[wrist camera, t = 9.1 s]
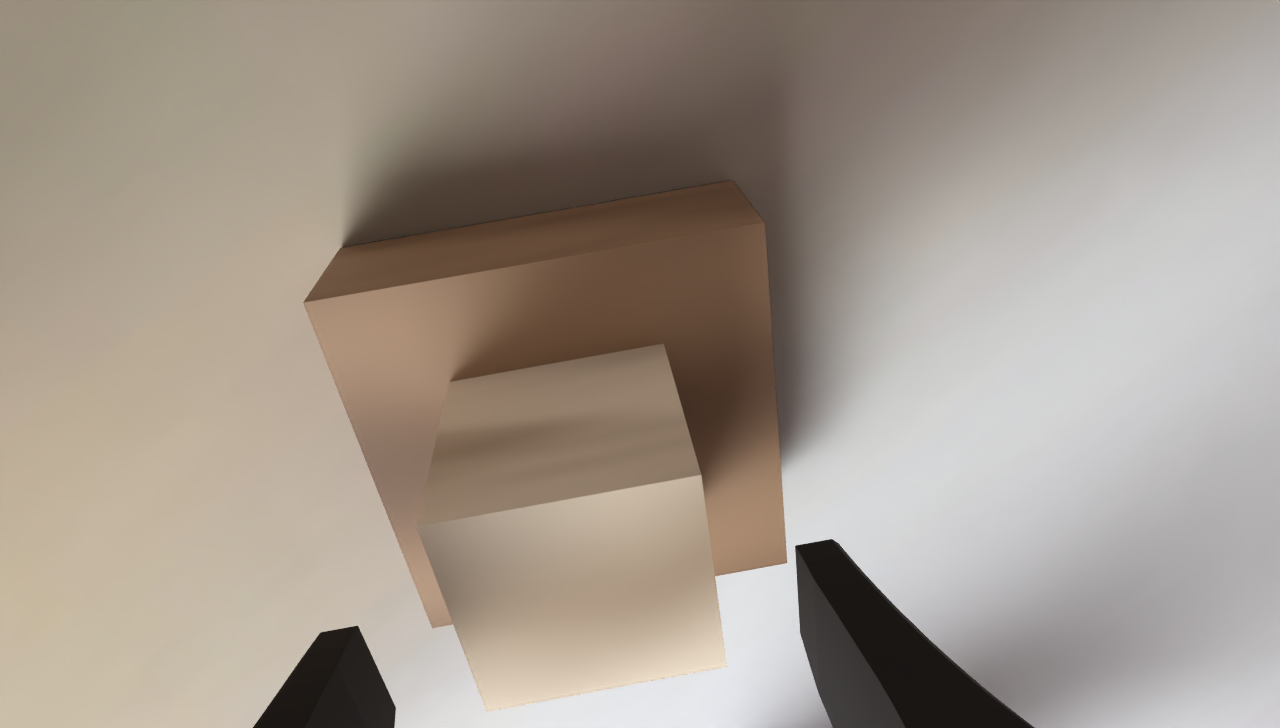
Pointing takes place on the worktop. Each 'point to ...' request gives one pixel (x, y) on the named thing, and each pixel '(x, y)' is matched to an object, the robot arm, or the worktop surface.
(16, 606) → the worktop surface
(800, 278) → the worktop surface
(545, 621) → the birch block
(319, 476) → the worktop surface
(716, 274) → the walnut base
